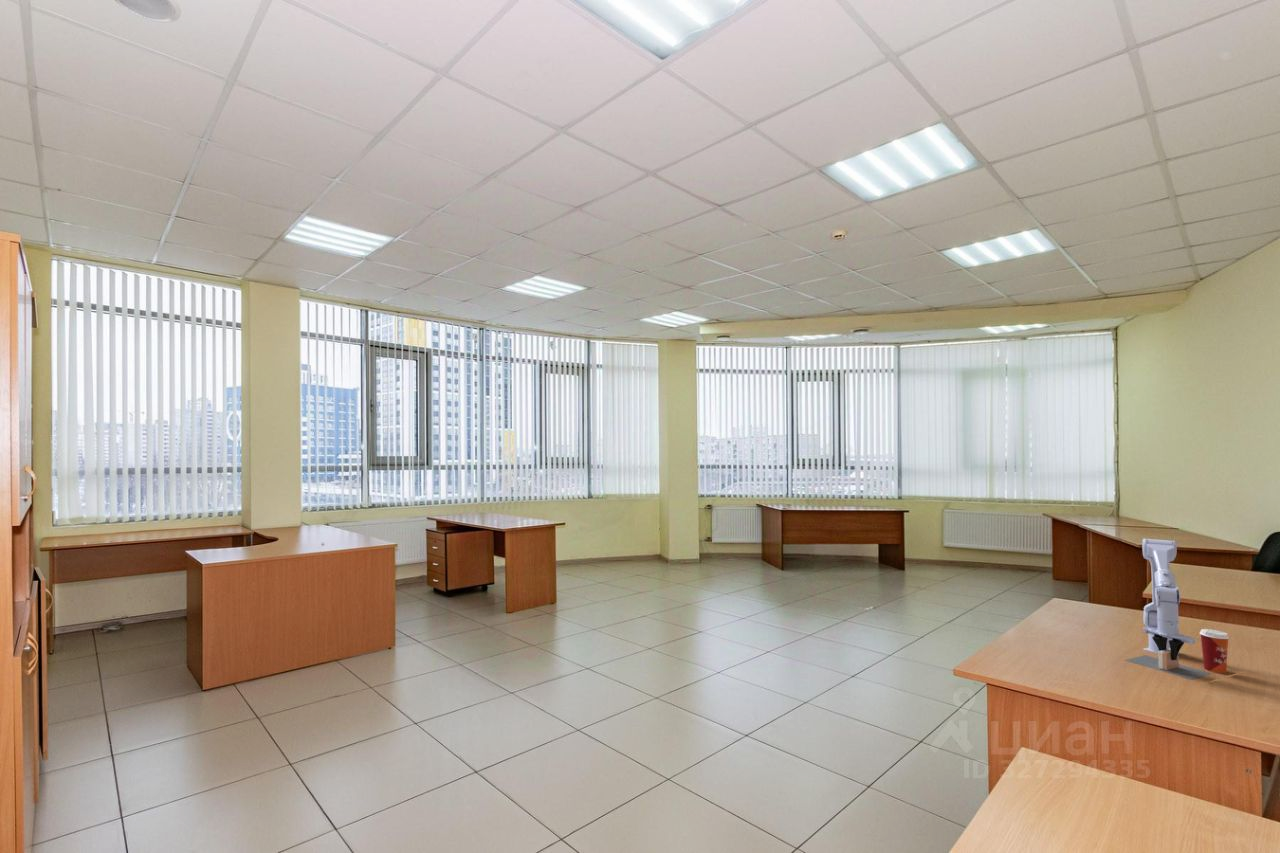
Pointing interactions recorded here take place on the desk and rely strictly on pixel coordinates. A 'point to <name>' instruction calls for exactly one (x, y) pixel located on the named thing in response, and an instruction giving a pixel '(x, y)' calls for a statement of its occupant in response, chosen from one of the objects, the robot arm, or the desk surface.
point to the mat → (1179, 671)
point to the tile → (1167, 660)
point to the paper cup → (1214, 650)
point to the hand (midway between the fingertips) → (1168, 658)
